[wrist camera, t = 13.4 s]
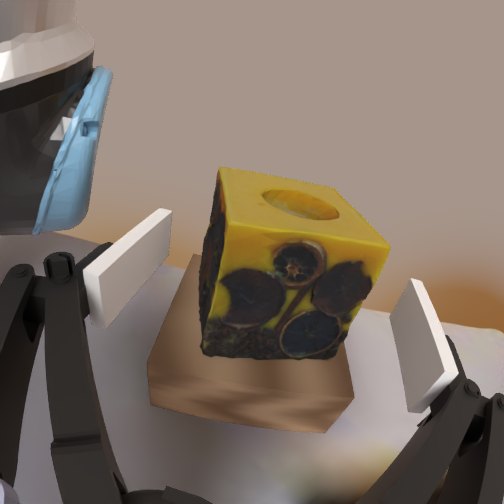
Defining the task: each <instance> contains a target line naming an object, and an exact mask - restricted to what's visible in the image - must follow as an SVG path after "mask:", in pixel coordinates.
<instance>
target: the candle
mask: <svg viewBox="0 0 504 504" xmlns="http://www.w3.org/2000/svg"><path fill="white" fill-rule="evenodd" d="M390 249H391V246H390V245H389V244H388V243H387V242H386V240H385V239H384V238H383V237H382V236H381V235H380V234H379V233H378V232H377V231H376V230H375V229H374V228H373V227H372V226H371V225H370V224H369V223H368V222H367V221H366V220H365V219H364V218H363V217H362V216H361V214H359V213H358V212H357V211H356V210H355V209H354V208H353V207H352V206H351V205H350V204H348V202H347V201H346V200H345V199H344V198H343V197H342V196H341V195H340V194H339V193H338V192H337V191H336V190H335V189H334V188H331V187H327V186H323V185H318V184H313V183H308V182H303V181H299V180H294V179H289V178H283V177H278V176H273V175H267V174H262V173H257V172H252V171H245V170H239V169H232V168H227V167H219V170H218V173H217V180H216V187H215V192H214V197H213V206H212V212H211V217H210V224H209V227H208V230H207V233H206V236H205V238H204V243H203V252H202V258H201V264H200V270H199V274H200V275H199V287H198V290H199V307H200V310H199V311H198V312H199V315H200V318H199V321H200V322H201V332H202V341H201V344H200V348H201V350H202V353H203V355H206V356H208V357H214V356H220V357H227V358H231V359H232V358H253V359H255V360H274V359H294V360H302V359H322V360H329V359H332V358H333V357H334V356H336V354H337V351H338V349H339V347H340V345H341V343H342V342H344V340H345V338H346V337H347V334H348V330H349V326H350V324H351V323H352V321H353V319H354V317H355V316H356V314H357V313H358V311H359V310H360V307H361V304H362V301H363V300H364V299H366V297H367V295H368V294H369V293H370V291H371V289H372V288H373V286H374V284H375V282H376V280H377V278H378V276H379V274H380V272H381V270H382V268H383V266H384V264H385V262H386V259H387V257H388V254H389V251H390Z"/></svg>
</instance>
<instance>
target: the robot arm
mask: <svg viewBox="0 0 504 504" xmlns="http://www.w3.org/2000/svg"><path fill="white" fill-rule="evenodd" d="M77 4H78V0H0V235H29V234H32V235H38V234H39V233H41V232H50V231H59V230H68V229H71V228H74V227H75V226H77V225H78V224H80V223H81V222H82V220H83V219H84V218H85V216H86V214H87V212H88V207H89V201H90V194H91V186H92V179H93V173H94V166H95V160H96V154H97V148H98V143H99V137H100V132H101V127H102V123H103V118H104V113H105V109H106V105H107V100H108V96H109V91H110V86H111V82H112V79H113V73H112V71H111V70H110V69H105V68H104V67H103V66H96V68H93V65H92V62H93V54H94V47H95V42H94V39H93V38H92V37H91V36H90V35H89V34H88V33H87V32H86V31H85V30H84V28H82V26H81V25H80V24H79V23H78V22H77V19H76V10H77ZM171 221H172V211H170V210H166V209H162V208H159V209H158V210H156V211H155V212H154V213H153V214H151V215H150V216H148V217H147V218H146V219H144V220H143V221H142V222H141V223H139V224H138V225H137V226H135V227H134V228H133V229H132V230H130V231H129V232H128V233H127V234H125V235H124V236H123V237H122V238H121V239H119V240H118V241H117V242H116V243H114V244H113V243H111V242H107V243H105V244H102V245H100V246H98V247H97V248H96V249H95V250H93V252H91V253H90V254H88V255H87V257H85V258H83V259H82V260H81V261H80V262H79V263H77V264H76V265H75V260H74V257H73V255H71V254H70V253H67V252H56V253H53V254H51V255H48V256H47V257H46V258H45V260H44V262H43V264H44V269H45V274H46V277H43V276H36V275H35V272H34V269H33V267H32V266H31V265H29V264H19V265H16V266H14V267H13V268H11V269H10V270H9V272H8V273H7V275H6V277H5V279H4V280H3V282H2V284H1V286H0V504H20V503H19V499H18V496H17V494H16V492H15V491H14V489H13V486H14V481H15V477H16V471H17V463H18V452H19V442H20V434H21V426H22V419H23V413H24V407H25V401H26V396H27V391H28V386H29V381H30V377H31V372H32V368H33V364H34V360H35V356H36V352H37V348H38V345H39V341H40V338H41V334H42V331H43V327H44V324H45V364H46V380H47V391H48V401H49V410H50V417H51V424H52V430H53V437H54V441H53V442H52V443H51V455H52V460H53V465H54V470H55V474H56V478H57V482H58V486H59V490H60V494H61V497H62V501H63V504H212V503H210V502H208V501H207V500H205V499H203V498H201V497H198V496H195V495H192V494H189V493H186V492H183V491H180V490H177V489H174V488H171V487H169V486H166V488H165V490H164V491H161V490H139V491H133V492H129V493H128V490H127V488H126V485H125V483H124V480H123V478H122V475H121V473H120V471H119V468H118V466H117V463H116V460H115V457H114V454H113V451H112V448H111V444H110V441H109V438H108V434H107V431H106V427H105V423H104V419H103V416H102V412H101V408H100V403H99V399H98V395H97V390H96V386H95V381H94V376H93V371H92V365H91V359H90V354H89V347H88V341H87V334H86V326H85V321H84V319H85V318H86V317H87V316H88V314H90V319H91V324H93V325H96V326H98V327H100V328H102V329H104V330H106V329H107V328H108V327H109V325H110V324H111V323H112V322H113V320H114V319H115V318H116V317H117V315H118V314H119V313H120V312H121V311H122V309H123V308H124V307H125V306H126V305H127V303H128V302H129V301H130V300H131V299H132V297H133V296H134V295H135V294H136V293H137V291H138V290H139V289H140V288H141V287H142V286H143V284H144V283H145V282H146V281H147V280H148V279H149V277H150V276H151V275H152V274H153V273H154V272H155V270H156V269H157V268H158V267H159V266H160V265H161V264H162V262H163V261H164V260H165V259H166V258H167V257H168V255H169V245H170V233H171ZM389 318H390V322H391V326H392V330H393V335H394V339H395V344H396V348H397V353H398V358H399V363H400V368H401V373H402V378H403V384H404V390H405V396H406V402H407V409H408V412H413V413H422V412H423V411H425V410H426V408H427V407H428V406H429V405H430V409H431V413H430V414H429V415H428V416H427V417H426V418H425V419H423V420H422V421H421V422H420V423H419V424H418V425H417V426H418V427H419V426H420V427H419V428H418V430H417V431H416V432H415V434H414V435H413V437H412V438H411V439H410V441H409V442H408V443H407V445H406V446H405V447H404V449H403V450H402V451H401V453H400V454H399V455H398V456H397V458H396V459H395V460H394V461H393V463H392V464H391V465H390V466H389V467H388V469H387V470H386V471H385V472H384V473H383V474H382V476H381V477H380V478H379V479H378V480H377V481H376V482H375V483H374V485H373V486H372V487H371V488H370V489H369V490H368V491H367V492H366V493H365V494H364V495H363V496H362V497H361V498H360V499H359V500H358V501H357V502H356V503H355V504H426V503H427V501H428V500H429V498H430V497H431V495H432V494H433V492H434V490H435V489H436V487H437V486H438V484H439V482H440V481H441V479H442V477H443V476H444V474H445V472H446V470H447V469H448V467H449V469H448V472H447V475H446V479H445V482H444V485H443V488H442V491H441V494H440V497H439V500H438V503H437V504H502V501H503V496H504V395H503V394H501V393H496V394H495V395H494V396H493V397H492V398H491V399H488V398H486V397H484V396H481V392H480V389H479V387H478V385H477V384H476V383H475V382H473V381H472V380H470V379H467V378H466V375H465V372H464V370H463V367H462V364H461V361H460V359H459V356H458V353H456V352H457V351H456V348H455V346H454V343H453V342H452V340H451V339H450V338H449V336H448V335H445V334H444V332H443V329H442V327H441V324H440V322H439V319H438V317H437V314H436V312H435V310H434V307H433V305H432V303H431V301H430V299H429V296H428V294H427V292H426V290H425V288H424V286H423V283H422V281H419V280H415V279H412V278H410V280H409V282H408V284H407V286H406V287H405V289H404V291H403V293H402V295H401V297H400V299H399V300H398V302H397V304H396V306H395V308H394V309H393V311H392V313H391V315H390V317H389Z"/></svg>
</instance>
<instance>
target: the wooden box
mask: <svg viewBox="0 0 504 504" xmlns="http://www.w3.org/2000/svg"><path fill="white" fill-rule="evenodd" d="M201 258H202V256H200V255H195V254H193V256H192V258H191V261H190V263H189V265H188V267H187V269H186V272H185V274H184V276H183V278H182V281H181V283H180V285H179V287H178V290H177V292H176V294H175V297H174V299H173V301H172V303H171V306H170V308H169V310H168V313H167V315H166V317H165V320H164V322H163V325H162V327H161V329H160V332H159V334H158V337H157V339H156V341H155V344H154V346H153V349H152V351H151V354H150V356H149V359H148V361H147V371H148V383H149V394H150V403H151V405H153V406H157V407H161V408H164V409H168V410H172V411H176V412H180V413H185V414H189V415H193V416H198V417H203V418H208V419H213V420H218V421H223V422H229V423H235V424H241V425H247V426H254V427H262V428H270V429H279V430H288V431H300V432H314V433H325V432H326V431H327V430H328V429H329V428H330V427H331V425H332V424H333V423H334V422H335V421H336V420H337V418H338V417H339V416H340V415H341V414H342V412H343V411H344V410H345V409H346V408H347V406H348V405H349V404H350V403H351V401H352V400H353V399H354V398H355V397H354V392H353V386H352V381H351V375H350V370H349V365H348V360H347V355H346V350H345V346H344V342H342V343H341V345H340V347H339V349H338V351H337V354H336V356H334V357H333V358H332V359H329V360H322V359H302V360H294V359H274V360H255V359H253V358H232V359H231V358H227V357H220V356H214V357H208V356H206V355H203V353H202V350H201V348H200V344H201V341H202V332H201V322H200V321H199V318H200V315H199V312H198V311H199V310H200V307H199V290H198V287H199V275H200V274H199V270H200V264H201Z"/></svg>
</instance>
